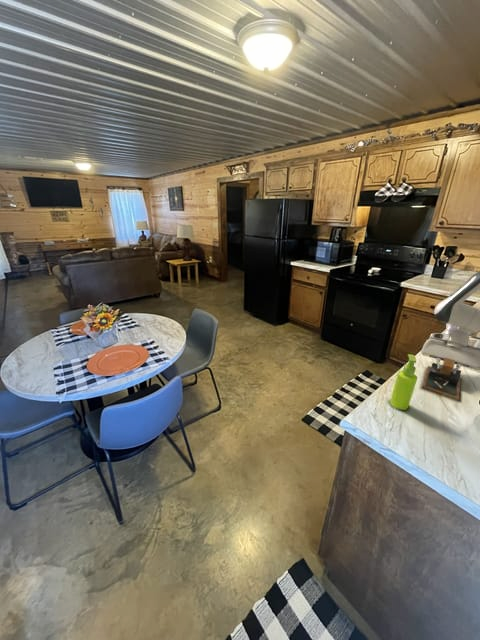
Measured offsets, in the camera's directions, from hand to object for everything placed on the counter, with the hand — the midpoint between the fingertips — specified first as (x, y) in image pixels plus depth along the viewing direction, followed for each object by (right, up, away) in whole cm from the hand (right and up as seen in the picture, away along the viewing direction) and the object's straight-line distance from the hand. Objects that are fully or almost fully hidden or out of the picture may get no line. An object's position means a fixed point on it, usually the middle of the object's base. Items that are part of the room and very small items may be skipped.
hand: (445, 371), depth 110 cm
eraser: (+2, -2, +4) cm, 5 cm away
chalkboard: (0, -5, +2) cm, 6 cm away
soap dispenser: (-26, -10, -10) cm, 30 cm away
